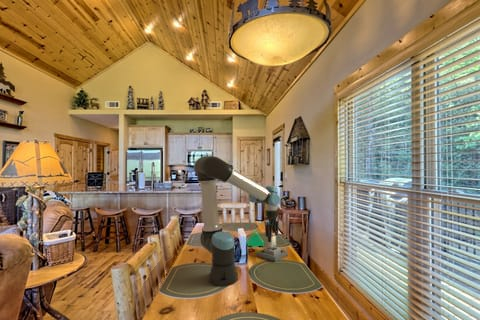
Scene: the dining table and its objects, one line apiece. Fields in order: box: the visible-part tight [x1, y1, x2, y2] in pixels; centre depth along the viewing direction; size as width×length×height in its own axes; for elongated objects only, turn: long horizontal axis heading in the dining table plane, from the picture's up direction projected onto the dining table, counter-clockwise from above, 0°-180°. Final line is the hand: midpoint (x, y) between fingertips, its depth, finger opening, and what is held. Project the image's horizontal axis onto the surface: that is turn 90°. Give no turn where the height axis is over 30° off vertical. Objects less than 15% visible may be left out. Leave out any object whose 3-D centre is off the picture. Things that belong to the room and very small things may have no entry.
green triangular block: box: [246, 231, 265, 248], centre depth 187 cm, size 12×8×10 cm, turn 88°
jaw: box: [269, 232, 276, 250], centre depth 165 cm, size 4×4×10 cm
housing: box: [256, 246, 288, 263], centre depth 165 cm, size 14×14×5 cm
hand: (272, 245), depth 165 cm, fingers closed on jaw, 3 cm apart
